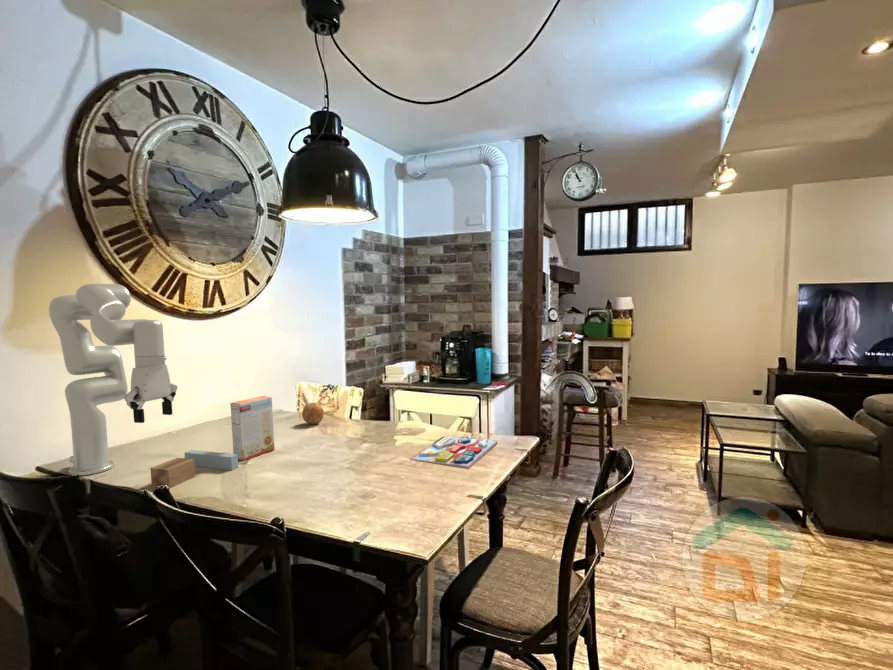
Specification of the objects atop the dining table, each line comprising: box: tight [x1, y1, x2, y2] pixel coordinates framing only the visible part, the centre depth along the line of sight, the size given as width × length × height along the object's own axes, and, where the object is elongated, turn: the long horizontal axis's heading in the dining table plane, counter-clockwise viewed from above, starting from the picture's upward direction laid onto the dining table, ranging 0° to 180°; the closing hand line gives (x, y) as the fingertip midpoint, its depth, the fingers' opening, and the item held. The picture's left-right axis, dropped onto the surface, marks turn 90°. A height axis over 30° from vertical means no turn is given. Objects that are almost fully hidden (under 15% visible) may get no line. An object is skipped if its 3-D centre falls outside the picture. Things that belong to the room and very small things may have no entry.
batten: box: [184, 449, 239, 471], centre depth 163 cm, size 20×3×4 cm, turn 73°
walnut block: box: [150, 457, 196, 489], centre depth 149 cm, size 7×10×6 cm
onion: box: [301, 402, 325, 425], centre depth 218 cm, size 10×10×10 cm
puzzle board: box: [410, 435, 498, 469], centre depth 176 cm, size 30×23×3 cm
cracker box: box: [230, 395, 275, 461], centre depth 174 cm, size 14×6×21 cm, turn 148°
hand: (153, 418), depth 140 cm, fingers open, 9 cm apart
